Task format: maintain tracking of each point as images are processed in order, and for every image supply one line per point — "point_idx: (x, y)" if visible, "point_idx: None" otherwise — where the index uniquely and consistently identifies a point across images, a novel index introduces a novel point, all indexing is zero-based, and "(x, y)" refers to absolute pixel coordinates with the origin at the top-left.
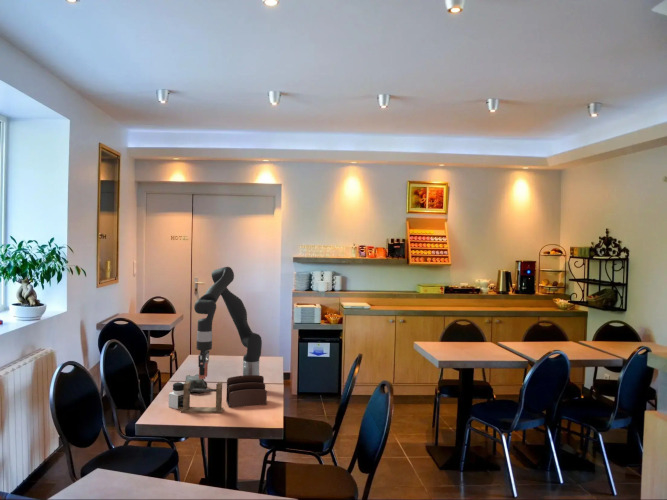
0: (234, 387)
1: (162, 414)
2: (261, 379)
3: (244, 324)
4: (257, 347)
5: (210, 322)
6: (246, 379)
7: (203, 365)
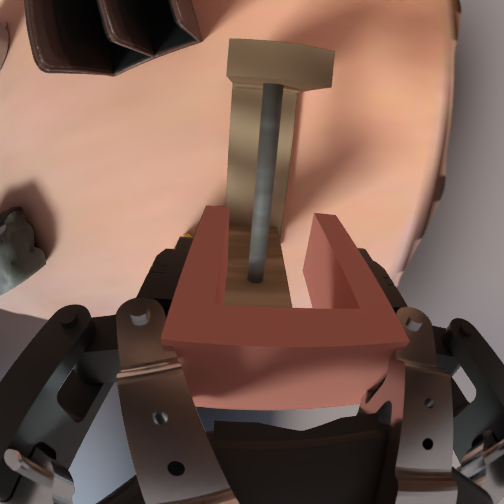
0: (112, 9)
1: (294, 299)
2: None
3: None
4: None
5: None
6: None
7: (482, 337)
